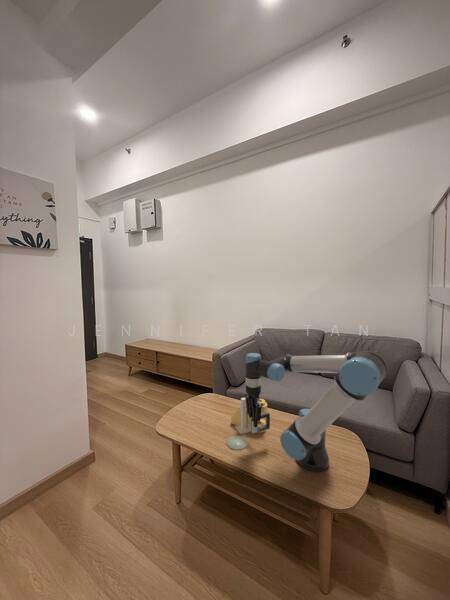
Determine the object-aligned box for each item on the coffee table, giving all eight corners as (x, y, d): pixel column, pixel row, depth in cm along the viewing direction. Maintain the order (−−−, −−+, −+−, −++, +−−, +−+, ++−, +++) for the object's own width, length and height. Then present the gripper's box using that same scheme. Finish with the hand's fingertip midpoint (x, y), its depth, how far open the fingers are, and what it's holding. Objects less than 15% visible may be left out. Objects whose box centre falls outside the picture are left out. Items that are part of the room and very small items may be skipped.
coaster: (251, 446, 126) (251, 445, 126) (232, 452, 121) (232, 451, 121) (241, 434, 136) (241, 433, 136) (223, 439, 131) (223, 438, 131)
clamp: (268, 427, 143) (269, 400, 143) (262, 434, 135) (263, 405, 135) (238, 417, 154) (239, 391, 153) (231, 423, 146) (232, 396, 146)
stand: (264, 444, 127) (264, 410, 126) (253, 447, 124) (253, 413, 123) (245, 424, 145) (245, 395, 144) (235, 427, 142) (235, 397, 141)
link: (269, 428, 126) (269, 413, 125) (252, 433, 122) (252, 418, 121) (268, 427, 127) (268, 412, 127) (251, 432, 123) (251, 416, 122)
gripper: (268, 389, 116) (268, 437, 117) (252, 378, 129) (252, 422, 131) (254, 392, 113) (254, 441, 114) (239, 381, 126) (239, 425, 128)
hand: (253, 431), depth 122 cm, fingers closed on link, 1 cm apart
